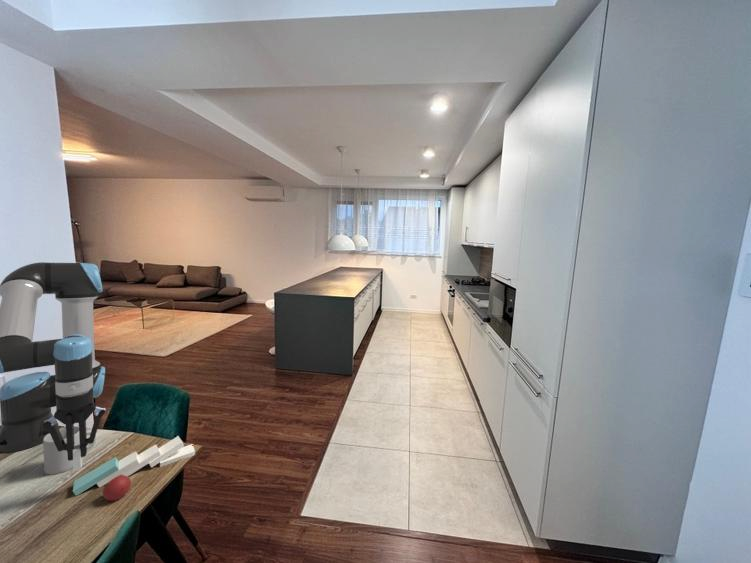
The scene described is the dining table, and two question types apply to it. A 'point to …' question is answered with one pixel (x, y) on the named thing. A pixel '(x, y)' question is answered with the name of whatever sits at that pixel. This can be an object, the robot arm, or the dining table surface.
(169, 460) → the domino
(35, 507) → the dining table surface
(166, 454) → the domino
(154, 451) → the domino
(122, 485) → the fruit
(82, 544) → the dining table surface
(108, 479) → the domino
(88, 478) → the domino
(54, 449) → the mug
